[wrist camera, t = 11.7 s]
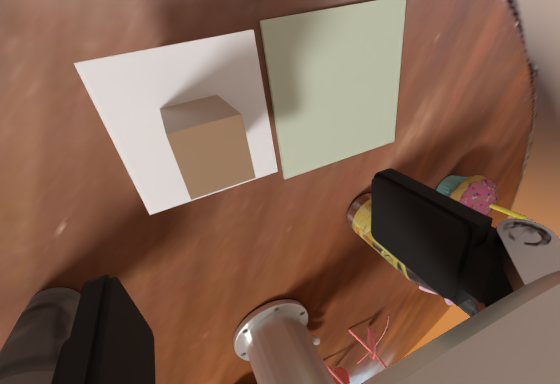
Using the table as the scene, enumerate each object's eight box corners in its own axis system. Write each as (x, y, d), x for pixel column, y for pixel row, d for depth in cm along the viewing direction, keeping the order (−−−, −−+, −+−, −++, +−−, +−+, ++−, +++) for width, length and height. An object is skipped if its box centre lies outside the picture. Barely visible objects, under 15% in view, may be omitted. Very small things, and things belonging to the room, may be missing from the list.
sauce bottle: (336, 223, 40) (464, 345, 25) (359, 185, 39) (510, 290, 23) (365, 230, 44) (493, 341, 28) (387, 196, 42) (535, 294, 26)
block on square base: (249, 29, 20) (291, 27, 14) (274, 168, 25) (310, 204, 20) (76, 62, 17) (44, 75, 11) (149, 210, 23) (152, 265, 17)
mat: (403, -5, 29) (406, -5, 28) (391, 140, 37) (394, 141, 37) (259, 20, 24) (260, 20, 24) (283, 177, 33) (285, 179, 33)
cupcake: (466, 156, 46) (553, 189, 36) (462, 196, 51) (537, 233, 41) (425, 180, 44) (504, 220, 35) (425, 218, 49) (494, 263, 40)
